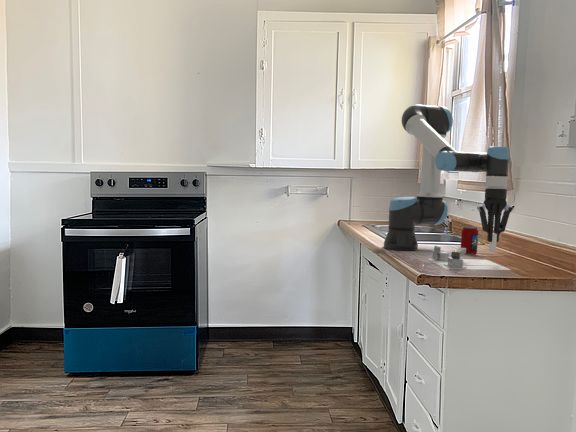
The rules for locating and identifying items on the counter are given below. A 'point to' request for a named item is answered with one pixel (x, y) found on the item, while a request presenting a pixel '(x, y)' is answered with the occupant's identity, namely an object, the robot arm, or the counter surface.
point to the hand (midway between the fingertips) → (492, 250)
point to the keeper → (440, 254)
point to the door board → (473, 264)
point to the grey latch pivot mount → (455, 263)
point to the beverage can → (469, 239)
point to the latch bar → (458, 253)
